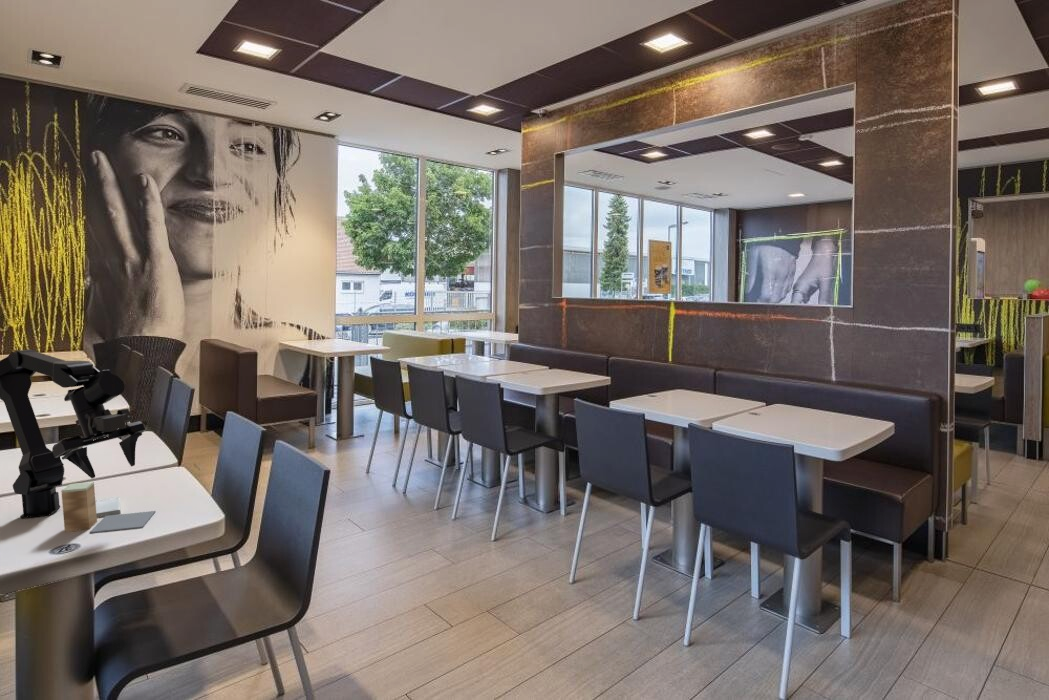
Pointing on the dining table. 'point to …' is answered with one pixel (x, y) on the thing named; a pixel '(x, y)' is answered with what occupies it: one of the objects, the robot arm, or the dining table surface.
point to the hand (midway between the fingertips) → (113, 471)
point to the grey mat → (123, 522)
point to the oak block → (79, 506)
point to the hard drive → (108, 507)
